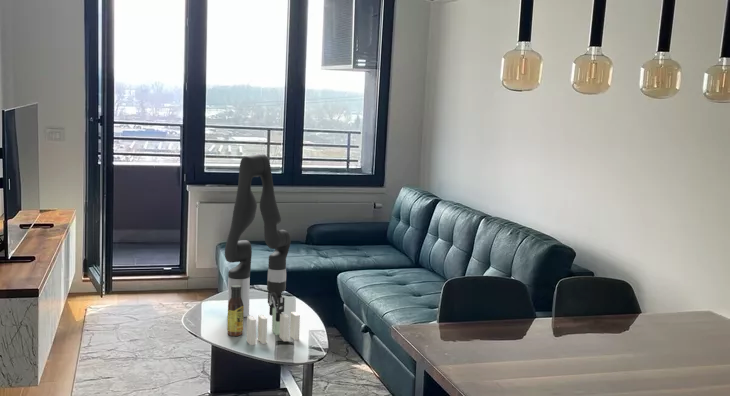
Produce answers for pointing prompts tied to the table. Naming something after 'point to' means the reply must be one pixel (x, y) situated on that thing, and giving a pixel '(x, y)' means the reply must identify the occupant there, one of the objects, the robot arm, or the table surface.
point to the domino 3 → (275, 323)
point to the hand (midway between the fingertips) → (275, 318)
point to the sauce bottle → (235, 312)
